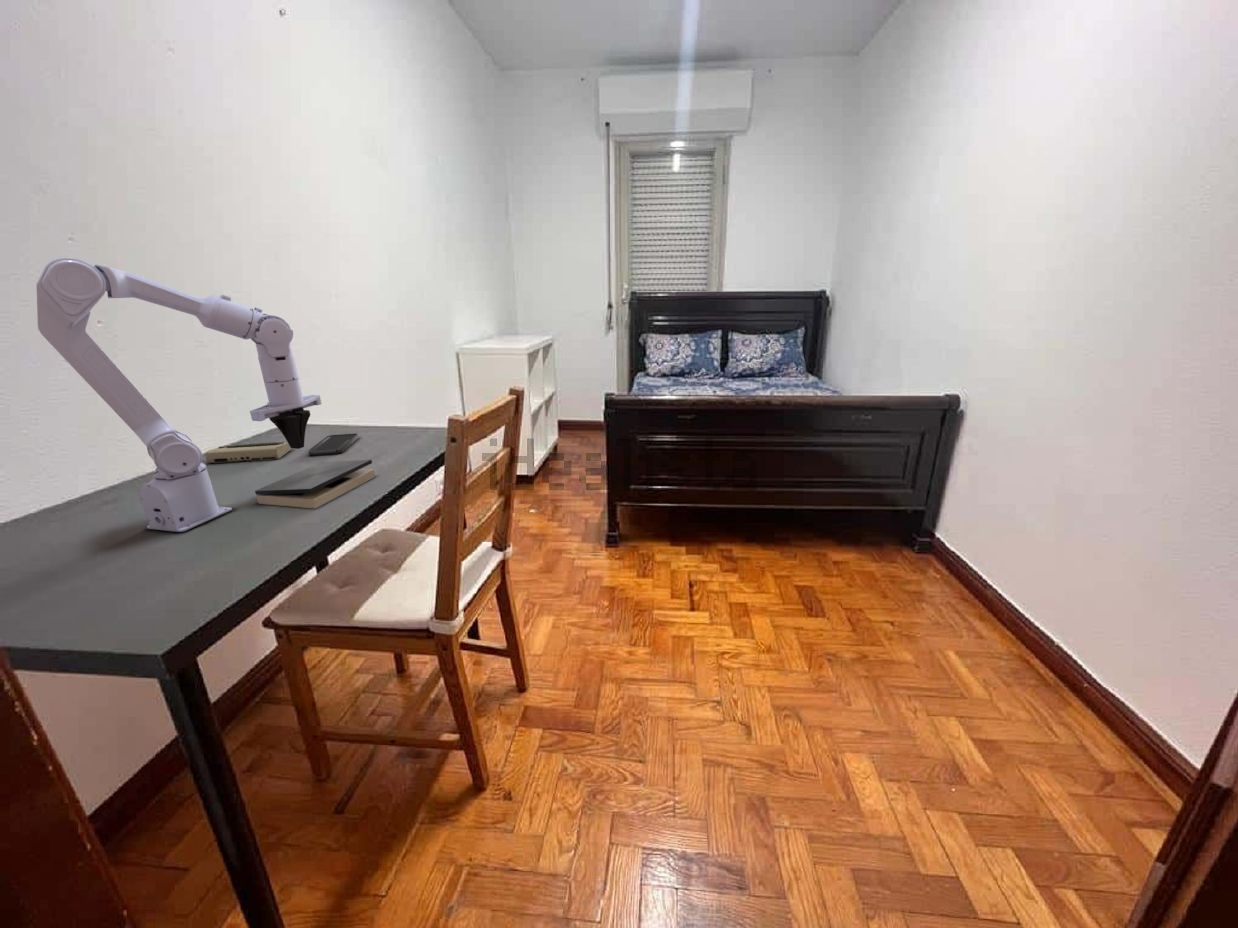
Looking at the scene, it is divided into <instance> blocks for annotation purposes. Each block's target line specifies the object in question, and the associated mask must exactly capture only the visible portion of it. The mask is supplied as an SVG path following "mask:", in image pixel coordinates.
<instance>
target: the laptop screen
mask: <svg viewBox="0 0 1238 928" xmlns="http://www.w3.org/2000/svg"><path fill="white" fill-rule="evenodd" d="M371 464H373V461H372V459H357V460H355V459H354V460H338V461H321V462H319V463H317V464H315V465H312V466H309V467H307V468H304V469H302V470H300V471H297V472H295V473H293V474H291V475H289V476H286V477H285V478H282V479H279V480H276V481H275V482H272V483H270V484H267V485H265V486H263V487H261V488H258V489H256V490H254V494H255V495H262V494H291V493H312V492H314V491H316V490H318V489H320V488H322V487H324V486H326V485H328V484H331V483H333V482H335V481H337V480H339V479H341V478H343V477H345V476H347V475H349V474H351V473H353V472H355V471H357V470H359V469H361V468H362V469H364V468H365V467H368V466H369V465H371Z"/></svg>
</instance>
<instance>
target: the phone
mask: <svg viewBox="0 0 1238 928" xmlns="http://www.w3.org/2000/svg"><path fill="white" fill-rule="evenodd" d="M358 439H359V433H342V434H341V433H340V434H329V435H327V436H326V437H324V438H323V439H322V440H320V441H319V442H318V443H316V444H315V445H314V446H312V447H311V448H310V449H308V455H309V456H312V457H313V456H325V455H327V456H328V455H338V454H342V453H344V452H346V450H347V449H348V448H349V447H351V446H352V445H353V444H354V443H355V442H356V441H357V440H358Z"/></svg>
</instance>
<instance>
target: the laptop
mask: <svg viewBox="0 0 1238 928" xmlns="http://www.w3.org/2000/svg"><path fill="white" fill-rule="evenodd" d="M374 478H376V473H375V469H374V468H361V469H359V470H357V471H355V472H353V473H351V474H349V475H347V476H345V477H343V478H341V479H339V480H337V481H335V482H333V483H331V484H328V485H326V486H324V487H322V488H320V489H318V490H316V491H314V492H312V493H291V494H262V495H256V494H255V495H256V499H257V503H258V504H259V505H266V506H267V505H268V506H279V507H280V506H281V507H291V508H292V507H293V508H305V509H315V510H316V509H317V508H319V507H321V506H323V505H325V504H327V503H329V502H330V501H332V500H334V499H336V498H339V497H340V496H342V495H344V494H346V493H348V492H349V491H351V490H353V489H355V488H357V487H360V486H361V485H363V484H365V483H366V482H368V481H370V480H373V479H374Z"/></svg>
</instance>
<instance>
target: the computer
mask: <svg viewBox="0 0 1238 928" xmlns="http://www.w3.org/2000/svg"><path fill="white" fill-rule="evenodd" d="M292 449H293V448H291V447H290V446H289V444H288V442H287V441H286V442H284V441H274V442H273V441H272V442H271V441H270V442H257V443H245V444H243V443H242V444H241V443H240V444H233V445H228V444H225V445H222V446H221V445H220V446H218V447H214V448H211V449H208V450H206V451H205V460H206V462H207V464H212V463H213V464H217V463H218V464H221V462H222V463H233V462H243V461H253V462H255V461H269V460H278V459H281V457H283V456H284V455H286V454H287V453H289V452H290V451H292Z"/></svg>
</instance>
